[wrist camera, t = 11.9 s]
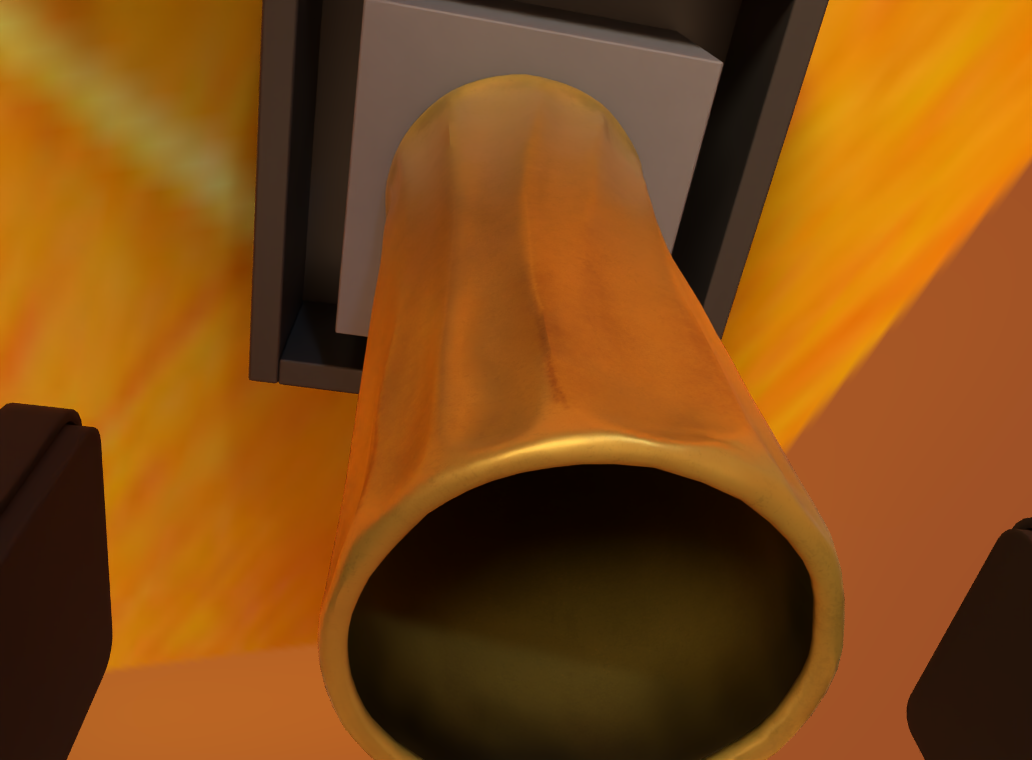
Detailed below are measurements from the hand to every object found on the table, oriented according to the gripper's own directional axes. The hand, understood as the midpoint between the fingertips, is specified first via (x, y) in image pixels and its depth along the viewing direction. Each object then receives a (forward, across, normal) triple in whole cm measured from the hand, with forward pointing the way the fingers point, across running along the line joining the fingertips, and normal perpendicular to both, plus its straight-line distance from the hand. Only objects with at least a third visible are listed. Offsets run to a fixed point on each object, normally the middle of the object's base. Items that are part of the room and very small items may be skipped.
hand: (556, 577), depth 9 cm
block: (+18, 0, 0) cm, 18 cm away
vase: (+14, 0, 0) cm, 14 cm away
